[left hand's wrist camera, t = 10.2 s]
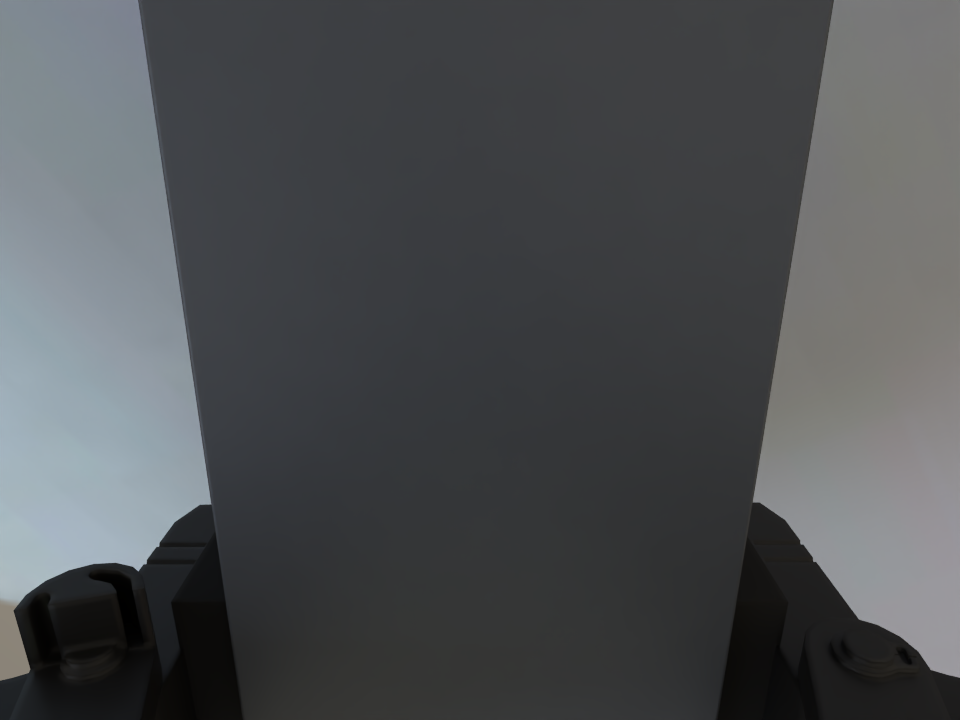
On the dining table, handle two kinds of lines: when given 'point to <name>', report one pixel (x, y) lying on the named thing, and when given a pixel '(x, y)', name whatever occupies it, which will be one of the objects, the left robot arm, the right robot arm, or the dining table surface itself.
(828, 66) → the dining table surface
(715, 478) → the beam
